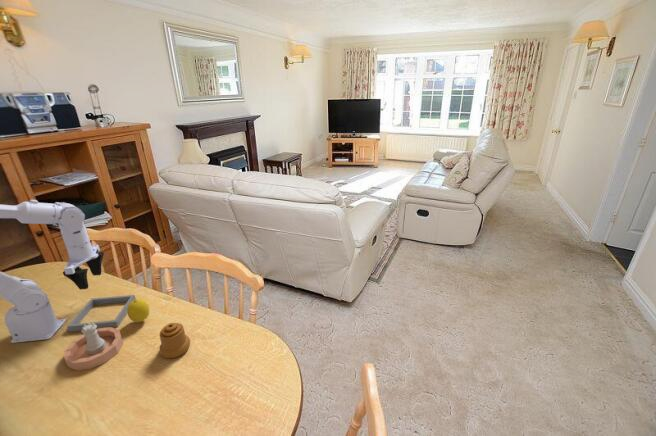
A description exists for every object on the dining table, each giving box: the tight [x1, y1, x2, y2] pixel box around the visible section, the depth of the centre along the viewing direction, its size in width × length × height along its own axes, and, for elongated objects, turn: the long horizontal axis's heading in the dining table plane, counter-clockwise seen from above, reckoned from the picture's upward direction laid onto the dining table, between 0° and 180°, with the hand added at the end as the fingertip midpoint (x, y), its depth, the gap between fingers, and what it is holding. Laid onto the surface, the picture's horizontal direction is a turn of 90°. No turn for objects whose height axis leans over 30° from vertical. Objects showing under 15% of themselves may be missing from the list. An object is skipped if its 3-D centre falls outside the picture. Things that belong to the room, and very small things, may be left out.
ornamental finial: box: [159, 322, 191, 359], centre depth 81 cm, size 8×8×8 cm
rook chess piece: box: [80, 322, 106, 355], centre depth 79 cm, size 4×4×8 cm
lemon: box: [127, 298, 150, 323], centre depth 90 cm, size 6×6×8 cm
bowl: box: [63, 327, 124, 371], centre depth 81 cm, size 12×12×3 cm
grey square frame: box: [66, 294, 137, 333], centre depth 94 cm, size 13×13×2 cm
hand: (90, 281), depth 95 cm, fingers open, 7 cm apart
